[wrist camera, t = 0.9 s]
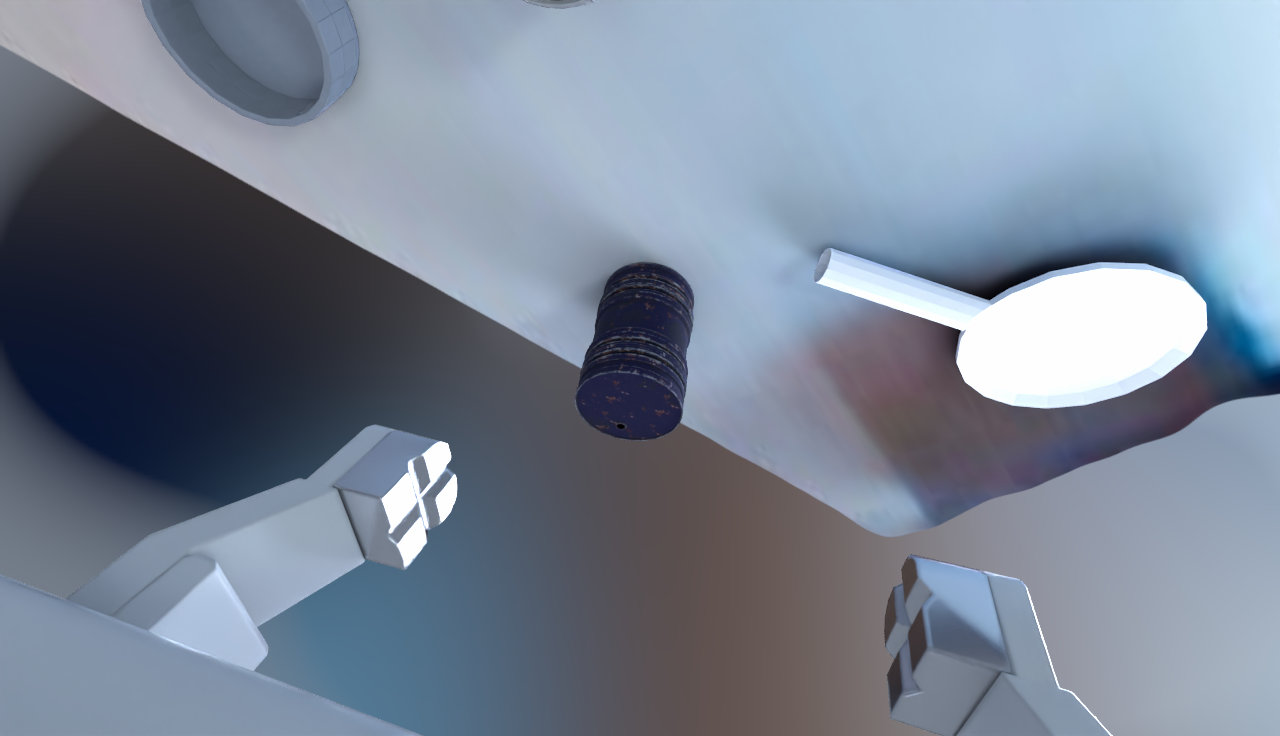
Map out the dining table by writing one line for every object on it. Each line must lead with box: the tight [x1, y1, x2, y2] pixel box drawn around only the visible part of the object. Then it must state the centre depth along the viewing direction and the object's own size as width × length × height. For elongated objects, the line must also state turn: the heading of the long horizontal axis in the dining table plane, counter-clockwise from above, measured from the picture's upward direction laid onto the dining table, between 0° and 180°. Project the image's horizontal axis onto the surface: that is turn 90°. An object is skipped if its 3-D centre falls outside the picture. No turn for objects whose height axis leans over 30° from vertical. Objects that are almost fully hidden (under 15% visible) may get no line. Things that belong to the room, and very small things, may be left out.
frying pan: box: [814, 248, 1207, 408], centre depth 53 cm, size 35×19×5 cm, turn 76°
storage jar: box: [575, 263, 694, 441], centre depth 55 cm, size 10×10×15 cm
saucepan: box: [141, 0, 359, 126], centre depth 42 cm, size 13×13×4 cm
